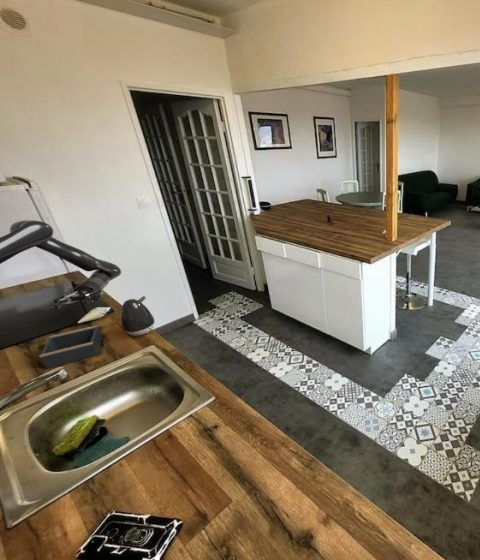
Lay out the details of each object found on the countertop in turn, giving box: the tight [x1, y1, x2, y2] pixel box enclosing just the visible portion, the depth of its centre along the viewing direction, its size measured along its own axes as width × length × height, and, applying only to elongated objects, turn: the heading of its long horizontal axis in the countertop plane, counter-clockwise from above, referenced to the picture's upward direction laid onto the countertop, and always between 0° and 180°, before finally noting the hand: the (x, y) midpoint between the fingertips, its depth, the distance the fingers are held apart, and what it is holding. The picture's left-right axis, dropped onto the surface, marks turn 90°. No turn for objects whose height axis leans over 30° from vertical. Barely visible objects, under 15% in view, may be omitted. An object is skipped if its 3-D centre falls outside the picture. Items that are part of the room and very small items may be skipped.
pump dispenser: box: [120, 295, 156, 337], centre depth 124 cm, size 10×10×15 cm
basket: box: [38, 325, 103, 369], centre depth 115 cm, size 14×14×5 cm
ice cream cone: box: [77, 306, 112, 324], centre depth 134 cm, size 5×5×15 cm
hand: (70, 305), depth 123 cm, fingers open, 8 cm apart
